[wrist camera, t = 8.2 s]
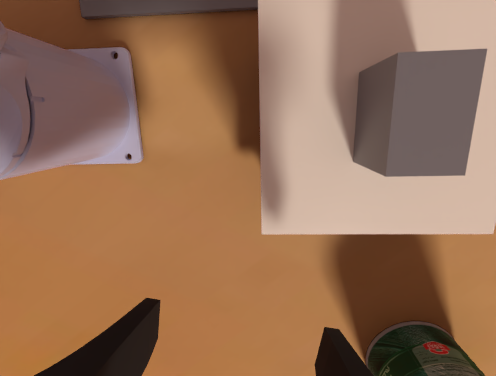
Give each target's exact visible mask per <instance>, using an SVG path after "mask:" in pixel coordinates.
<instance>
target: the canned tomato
mask: <svg viewBox="0 0 496 376" xmlns="http://www.w3.org/2000/svg"><path fill="white" fill-rule="evenodd" d="M366 366H367V368H368V369H369V370H370V371H371V373H372V374H373V375H374V376H485V375H484V373H483V372H482V371H481V370H480V369H479V368H478V367H477V366H476V364H475V363H474V362H473V361H472V360H471V359H470V358H469V357H468V355H467V354H466V353H465V352H464V351H463V350H462V349H461V347H460V346H459V345H458V344H457V343H456V341H455V340H454V339H453V337H452V336H451V335H450V334H449V333H448V332H447V331H445V330H444V329H442V328H441V327H439V326H437V325H434V324H431V323H428V322H421V321H409V322H403V323H399V324H396V325H393V326H391V327H389V328H387V329H385V330H384V331H382V332H381V333H380V334H378V335H377V336H376V337H375V339H374V340H373V341H372V342H371V344H370V346H369V348H368V350H367V354H366Z"/></svg>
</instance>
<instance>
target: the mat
mask: <svg viewBox="0 0 496 376" xmlns="http://www.w3.org/2000/svg"><path fill="white" fill-rule="evenodd" d="M79 3H80V9H81V15H82V17H83V18H85V19H94V18H112V17H131V16H149V15H167V14H185V13H203V12H221V11H239V10H257V9H258V0H79Z"/></svg>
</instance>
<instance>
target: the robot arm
mask: <svg viewBox="0 0 496 376" xmlns="http://www.w3.org/2000/svg"><path fill="white" fill-rule="evenodd" d="M116 52H117V53H118V58H117V59H114V54H115V53H116ZM128 154H131V156H132V159H129V158H128ZM142 160H143V149H142V141H141V133H140V125H139V117H138V109H137V101H136V93H135V85H134V77H133V69H132V61H131V54H130V52H129V51H128V50H127V49H125V48H124V47H110V48H89V49H68V50H66V49H63V48H60V47H57V46H55V45H52V44H49V43H46V42H44V41H41V40H38V39H35V38H32V37H30V36H27V35H24V34H21V33H19V32H16V31H13V30H10V29H7V28H5V27H4V25H3V23H2V22H1V21H0V180H2V179H6V178H11V177H15V176H20V175H24V174H29V173H33V172H38V171H42V170H47V169H51V168H56V167H60V166H65V165H69V164H119V163H139V162H141V161H142ZM159 313H160V300H157V299H151V298H146V299H144V300H143V301H142V302H141V303H139V304H138V305H137V306H136V307H134V308H133V309H132V310H131V311H129V312H128V313H127V314H126V315H124V316H123V317H122V318H121V319H119V320H118V321H117V322H116V323H114V324H113V325H112V326H110V327H109V328H108V329H106V330H105V331H104V332H102V333H101V334H100V335H98V336H97V337H95V338H94V339H93V340H91V341H90V342H88V343H87V344H85V345H84V346H83V347H81V348H80V349H78V350H77V351H75V352H74V353H72V354H70V355H69V356H67V357H66V358H64V359H62V360H61V361H59V362H58V363H56V364H54V365H53V366H51V367H49V368H47V369H45V370H44V371H42V372H40V373H38V374H36V375H34V376H142V374H143V372H144V370H145V368H146V366H147V364H148V362H149V359H150V357H151V354H152V352H153V349H154V347H155V344H156V342H157V339H158V328H159ZM315 371H316V376H374V375H373V374H372V373H371V371H370V370H369V369H368V368H367V366H366V365H365V364H364V362H363V361H362V360H361V359H360V357H359V356H358V354H357V353H356V352H355V350H354V349H353V348H352V346H351V345H350V344H349V342H348V341H347V340H346V338H345V337H344V336H343V334H342V333H341V332H340V330H339V329H334V328H328V327H325V328H324V331H323V335H322V339H321V343H320V347H319V351H318V355H317V358H316V362H315Z"/></svg>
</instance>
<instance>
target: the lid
mask: <svg viewBox="0 0 496 376" xmlns="http://www.w3.org/2000/svg"><path fill="white" fill-rule="evenodd" d="M258 34H259V94H260V155H261V216H262V234H493V232H494V228H495V223H496V0H258Z"/></svg>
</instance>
